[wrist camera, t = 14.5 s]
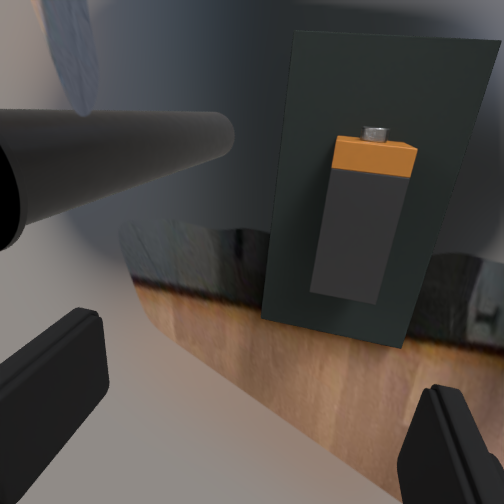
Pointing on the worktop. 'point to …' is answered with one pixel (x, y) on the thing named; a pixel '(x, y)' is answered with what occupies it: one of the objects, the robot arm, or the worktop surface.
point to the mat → (350, 124)
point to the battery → (361, 214)
